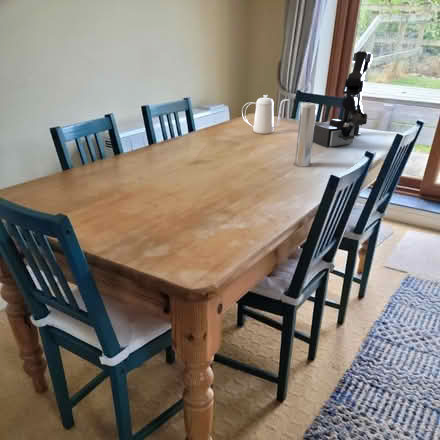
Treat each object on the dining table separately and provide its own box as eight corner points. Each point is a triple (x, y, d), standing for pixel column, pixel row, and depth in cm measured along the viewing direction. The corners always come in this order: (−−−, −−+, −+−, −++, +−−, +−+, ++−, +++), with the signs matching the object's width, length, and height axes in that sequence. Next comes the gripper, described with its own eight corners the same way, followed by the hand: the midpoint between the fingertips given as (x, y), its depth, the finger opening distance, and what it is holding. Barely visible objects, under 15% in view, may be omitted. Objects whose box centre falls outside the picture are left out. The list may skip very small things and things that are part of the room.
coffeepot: (287, 135, 242) (290, 97, 232) (240, 133, 244) (241, 96, 234) (286, 130, 251) (290, 93, 241) (241, 128, 253) (243, 92, 243)
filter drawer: (358, 145, 222) (361, 131, 219) (337, 148, 217) (339, 134, 213) (335, 137, 235) (337, 123, 231) (314, 140, 230) (316, 126, 226)
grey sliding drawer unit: (349, 143, 228) (352, 126, 224) (326, 147, 222) (329, 129, 218) (331, 137, 238) (334, 120, 234) (309, 140, 233) (311, 123, 228)
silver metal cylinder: (309, 167, 195) (316, 105, 182) (294, 166, 196) (300, 104, 183) (310, 162, 201) (317, 102, 187) (295, 161, 202) (301, 101, 188)
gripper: (347, 111, 202) (341, 146, 211) (378, 107, 210) (371, 142, 218) (330, 106, 210) (326, 141, 219) (361, 103, 218) (355, 136, 226)
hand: (345, 140), depth 220 cm, fingers closed, pressing on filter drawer
